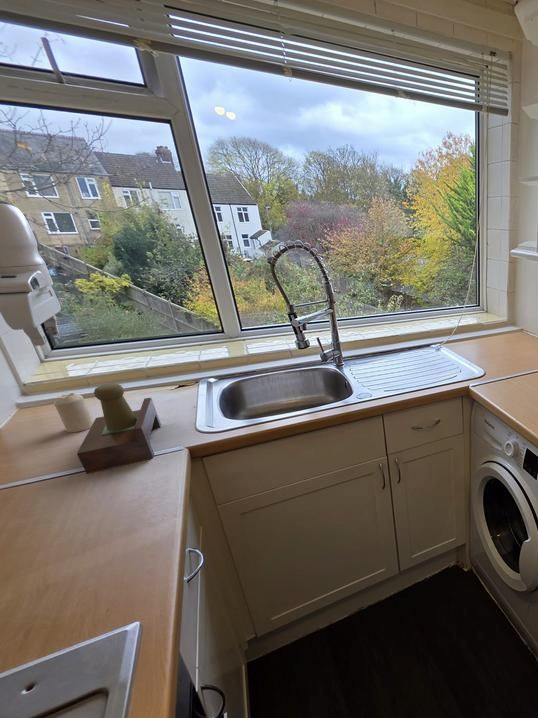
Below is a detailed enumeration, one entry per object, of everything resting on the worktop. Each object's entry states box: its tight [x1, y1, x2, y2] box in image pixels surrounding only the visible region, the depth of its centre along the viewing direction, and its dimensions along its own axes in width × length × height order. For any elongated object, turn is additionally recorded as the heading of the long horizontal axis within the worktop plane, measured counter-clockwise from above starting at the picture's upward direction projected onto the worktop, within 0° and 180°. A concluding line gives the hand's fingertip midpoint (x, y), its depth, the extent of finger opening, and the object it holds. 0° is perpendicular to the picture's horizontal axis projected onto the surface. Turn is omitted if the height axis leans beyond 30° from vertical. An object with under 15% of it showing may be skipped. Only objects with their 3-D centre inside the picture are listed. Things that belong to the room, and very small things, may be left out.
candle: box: [53, 392, 95, 433], centre depth 110 cm, size 6×6×10 cm
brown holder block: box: [76, 397, 162, 474], centre depth 102 cm, size 12×20×8 cm, turn 34°
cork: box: [93, 382, 137, 431], centre depth 101 cm, size 6×6×11 cm
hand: (47, 339), depth 94 cm, fingers open, 8 cm apart
